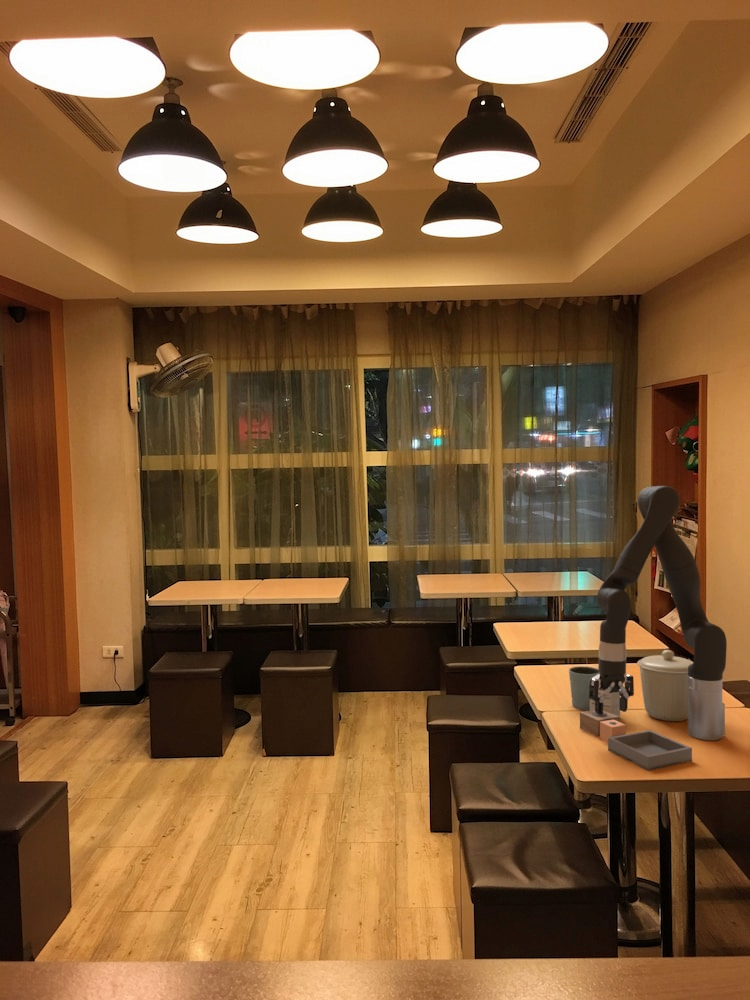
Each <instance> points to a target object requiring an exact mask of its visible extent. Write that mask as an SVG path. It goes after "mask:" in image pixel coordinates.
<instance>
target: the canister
mask: <svg viewBox="0 0 750 1000" xmlns="http://www.w3.org/2000/svg"><path fill="white" fill-rule="evenodd" d="M693 662H694V661H692V660H690V659H687V658H684V657H681V656H675V652H674V651H672V650H670V649H664V650H663V651H662V652H661V654H659V655H658V654H656V655H648V656H645V657H643V658H641V659H639V660H638V661H637V663H636V664H637V666H638V667H639V672H640V681H641V682H640V683H641V690H642V698H643V704H644V709H645V711H646V713H647V714H648V716H650V717H652V718H655V719H656V720H657V719H658V720H662V721H666V722H681V721H684V720H685V721H686V720H688V666H689V665H690V664H693Z"/></svg>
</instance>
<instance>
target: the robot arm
mask: <svg viewBox="0 0 750 1000" xmlns="http://www.w3.org/2000/svg"><path fill="white" fill-rule="evenodd" d="M680 503H681V498H680V495H679V493H678V491H677V490H676V489H675V488H674V487H671V486H667V485H656V486H654V485H653V486H647V487H644V488H642V490H641V491H640V492H639V494H638V496H637V506H638V509H639V512H640V514H641V516H642V518H643V522H642V524H641V525H640V527H639V528H638V530H637V531H636V532H635V534H634V535H633V536H632V538H630V540H629V541H628V542H627V544H626V545H625V546H624V548H623V549H622V551H621V553H620V555H619V556H618V559H617V561H616V563H615V565H614V568H613V570H612V572H610V574H609V575H608V576H607V578H606V579H605V580H604V581H603V582H602V584H601V585H600V587H599V588H598V591H597V594H596V603H597V605H598V606H599V608H600V609H602V610H604V611H607V615H606V619H605V620H602V621H601V622H600V626H599V627H600V629H599V644H598V667H597V669H598V671H599V673H600V677H599V679H593V678H591V679H590V687H589V699H592V700H594V701H595V712H596V714H598V715H603V700H604V698H605V697H606V696H608V694H609V693H613V692H618V693H619V695H620V701H619V709H620V712H623V713H626V712H627V710H628V707H629V706H628V700H629V698H630V697H634V695H635V692H634V691H635V689H634V688H635V686H634V676H633V675H630V674H627V646H626V645H627V643H626V638H627V637H626V636H627V635H626V632H627V630H626V629H627V625H628V622H629V619H630V615H631V610H632V601H631V597H630V595H629V593H628V592H626V591H625V590H626V589H627V587H629V586H630V585H634V584H635V583H637V581H638V579H639V577H640V575H641V573H642V571H643V568H644V566H645V564H646V563H647V562H646V561H647V559H648V558H649V556H650V553H651V552H652V550H653V548H655V551H656V554H657V556H658V560H659V563H660V565H661V569H662V573H663V575H664V578H665V582H666V583H667V586H668V588H669V591H670V594H671V597H672V599H673V600H672V601H674V602H673V603H674V605H675V608H676V610H677V615H678V619H679V623H680V628H681V633H682V636H683V639H684V642H685V643H686V645H687V647H689V648H690V649H692V650H693V661H692V662H693V664H690V665H689V666H688V718H687V734H688V735H689V737H692V738H694V739H699V740H702V741H703V740H704V741H719V740H721V739H723V737H724V736H723V735H726V734H725V733H726V731H725V730H726V725H725V724H726V712H725V711H726V704H725V703H724V702H723V674H724V671H725V669H726V666H727V665H726V664H727V662H726V661H727V637H726V633H725V632H724V630H723V629H722V628H721V627H720V626H718V625H716V624H714V623H711V622H710V621H709V620H708V618H707V615H706V614H705V611H704V608H703V604H702V601H701V586H702V585H701V583H702V582H701V575H700V571H699V568H698V566H697V562H696V559H695V558H694V555H693V553H692V552H691V550H690V548H689V546H688V545H687V544H686V543H685V542H684V540H683V539H682V537H681V536H680V534H678V532H677V530H676V528H675V526H674V523H673V520H672V519H673V518H674V516H675V514H676V513H677V511H678V509H679V508H680ZM599 684H600V685H599ZM602 690H604V692H603V691H602ZM593 693H594V695H593ZM600 695H601V696H600ZM599 697H600V698H599ZM720 738H721V739H720ZM718 739H719V740H718Z"/></svg>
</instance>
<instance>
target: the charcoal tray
mask: <svg viewBox="0 0 750 1000" xmlns="http://www.w3.org/2000/svg"><path fill="white" fill-rule="evenodd" d="M607 749H608V752H611V753H613V754H615V755H617V756H619V757H621V758H622V759H625V760H627V761H628V762H631V763H633V764H634V765H637V766H638V767H639V768H643V769H645V770H646V771H648V772H649V771H653V770H657V769H662V768H665V767H666V768H667V767H670V766H676V765H681V764H685V763H690V762H692V761H693V748H692V747H690V746H688V745H686V744H684V743H681V742H679V741H677V740H675V739H671V738H669V737H667V736H665V735H663V734H661V733H658V732H656V731H653V730H651V729H647V730H641V731H638V732H637V731H636V732H632V733H628V734H627V733H626V735H620V736H615V737H610V738H608V742H607Z"/></svg>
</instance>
